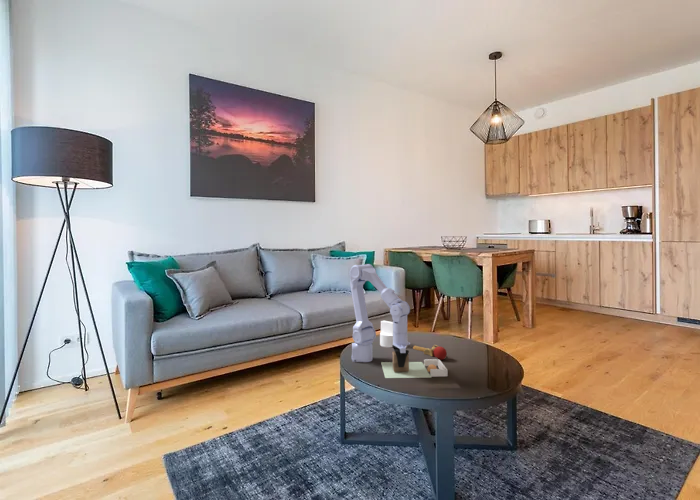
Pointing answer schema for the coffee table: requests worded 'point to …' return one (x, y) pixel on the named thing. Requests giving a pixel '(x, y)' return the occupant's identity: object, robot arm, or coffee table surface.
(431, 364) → the ball
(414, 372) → the pitch
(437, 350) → the kendama
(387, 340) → the cylinder with rectangular tab
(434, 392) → the coffee table surface
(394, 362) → the tall cardboard box
